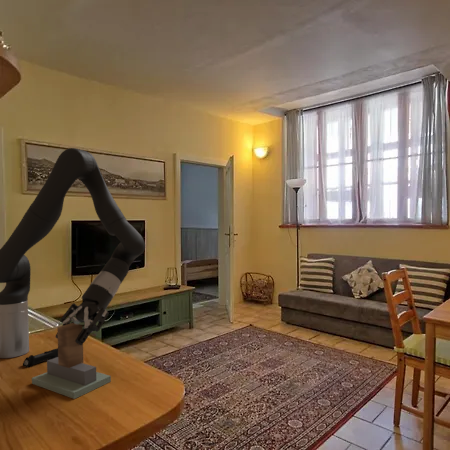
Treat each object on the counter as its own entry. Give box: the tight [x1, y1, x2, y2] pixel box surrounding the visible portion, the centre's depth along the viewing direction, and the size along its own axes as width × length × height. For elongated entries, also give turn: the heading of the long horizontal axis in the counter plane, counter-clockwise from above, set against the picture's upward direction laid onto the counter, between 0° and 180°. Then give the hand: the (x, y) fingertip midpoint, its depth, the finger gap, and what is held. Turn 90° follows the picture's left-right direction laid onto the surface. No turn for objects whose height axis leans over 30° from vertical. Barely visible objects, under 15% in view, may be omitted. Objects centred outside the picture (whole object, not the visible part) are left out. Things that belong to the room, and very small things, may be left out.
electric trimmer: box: [22, 347, 58, 368], centre depth 115 cm, size 4×16×3 cm, turn 143°
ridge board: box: [31, 357, 112, 400], centre depth 96 cm, size 18×11×5 cm, turn 58°
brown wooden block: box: [56, 322, 84, 368], centre depth 97 cm, size 4×4×10 cm
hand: (68, 341), depth 96 cm, fingers open, 8 cm apart
